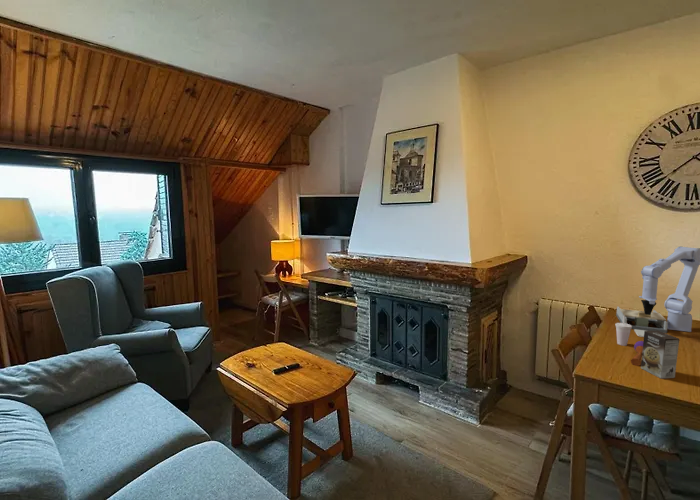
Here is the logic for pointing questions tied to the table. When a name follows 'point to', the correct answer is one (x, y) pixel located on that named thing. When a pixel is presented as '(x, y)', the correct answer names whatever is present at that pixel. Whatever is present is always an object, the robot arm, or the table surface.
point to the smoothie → (622, 332)
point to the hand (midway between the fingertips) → (647, 314)
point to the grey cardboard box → (659, 354)
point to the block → (641, 322)
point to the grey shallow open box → (659, 323)
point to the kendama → (639, 350)
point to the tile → (639, 332)
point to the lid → (642, 314)
